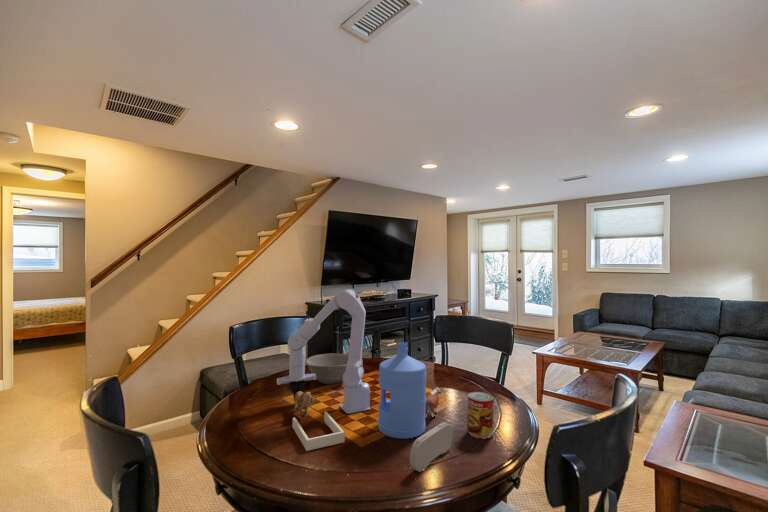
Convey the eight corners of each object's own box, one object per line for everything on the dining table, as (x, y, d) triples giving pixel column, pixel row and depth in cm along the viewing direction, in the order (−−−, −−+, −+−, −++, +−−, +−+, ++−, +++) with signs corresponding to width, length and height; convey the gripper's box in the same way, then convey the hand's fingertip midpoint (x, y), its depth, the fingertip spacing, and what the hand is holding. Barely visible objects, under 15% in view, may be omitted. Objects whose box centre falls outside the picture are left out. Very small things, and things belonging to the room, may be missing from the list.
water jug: (427, 421, 124) (429, 339, 125) (422, 443, 109) (423, 350, 110) (383, 416, 128) (385, 337, 128) (372, 436, 112) (374, 346, 113)
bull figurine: (443, 408, 135) (443, 386, 136) (433, 422, 123) (433, 398, 123) (432, 406, 137) (432, 385, 137) (420, 420, 125) (421, 396, 125)
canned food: (462, 430, 118) (463, 393, 118) (482, 426, 121) (482, 390, 121) (477, 441, 111) (477, 402, 111) (498, 437, 114) (498, 398, 114)
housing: (326, 420, 124) (326, 411, 124) (344, 442, 109) (344, 432, 109) (292, 427, 118) (292, 417, 118) (306, 451, 103) (306, 440, 103)
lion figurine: (316, 418, 125) (317, 392, 125) (301, 422, 122) (302, 395, 122) (300, 404, 137) (300, 380, 137) (286, 407, 134) (287, 383, 134)
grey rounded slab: (446, 445, 108) (446, 417, 108) (453, 448, 106) (453, 419, 107) (408, 474, 93) (408, 441, 93) (415, 477, 92) (416, 444, 92)
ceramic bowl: (294, 382, 162) (295, 360, 162) (330, 370, 180) (330, 350, 181) (331, 393, 149) (331, 369, 149) (365, 379, 168) (365, 358, 168)
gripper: (312, 360, 144) (312, 394, 144) (275, 364, 137) (274, 400, 137) (318, 364, 138) (317, 400, 138) (279, 369, 131) (278, 407, 131)
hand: (296, 400), depth 137 cm, fingers closed
